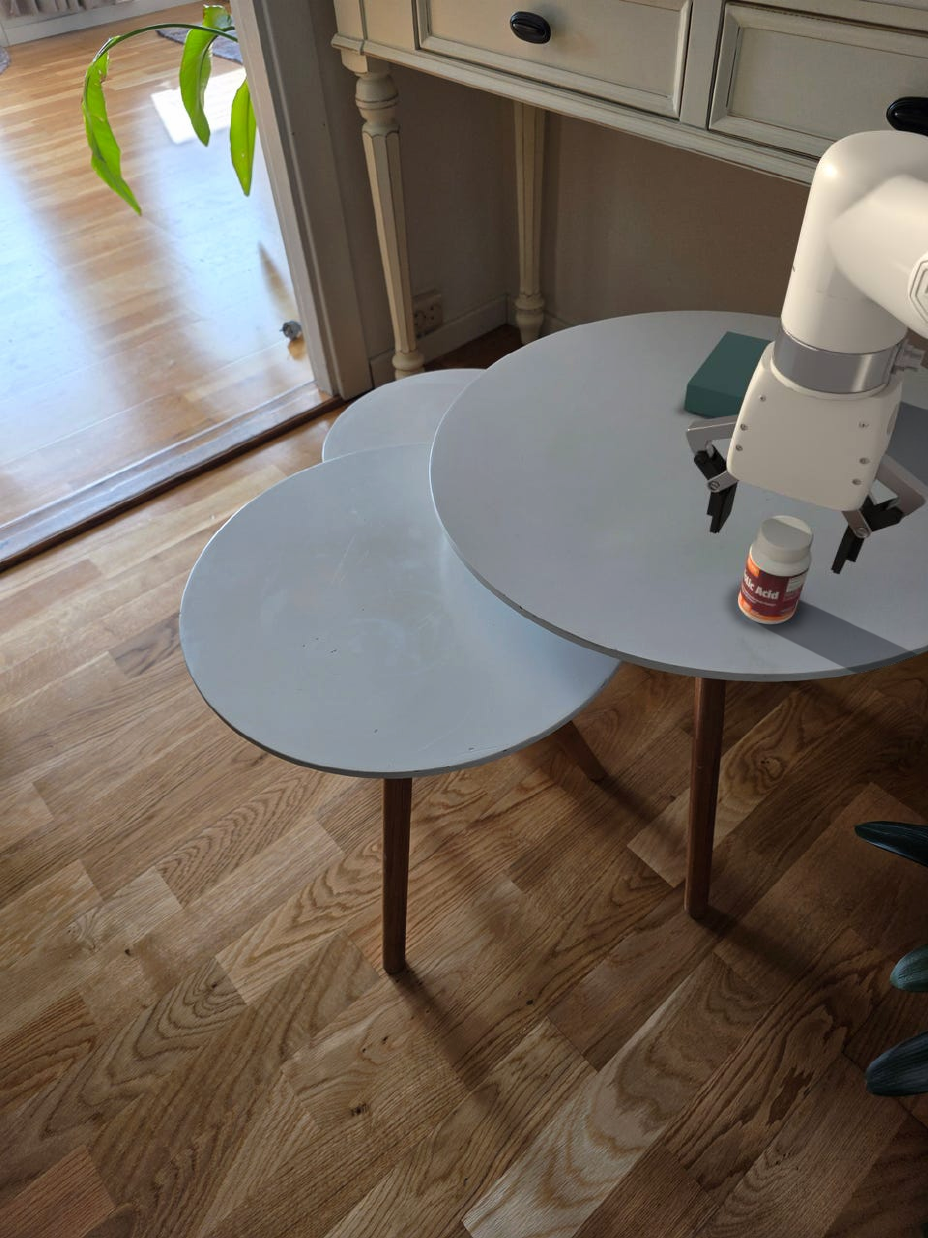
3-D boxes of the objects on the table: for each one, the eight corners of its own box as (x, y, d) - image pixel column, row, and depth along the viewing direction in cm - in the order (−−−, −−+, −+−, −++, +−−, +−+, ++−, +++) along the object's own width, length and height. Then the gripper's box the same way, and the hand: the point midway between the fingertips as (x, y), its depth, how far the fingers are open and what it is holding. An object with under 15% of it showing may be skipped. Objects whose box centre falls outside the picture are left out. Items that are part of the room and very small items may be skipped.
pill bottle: (725, 603, 74) (742, 530, 68) (762, 577, 76) (781, 503, 70) (770, 635, 72) (791, 561, 66) (807, 607, 74) (831, 533, 67)
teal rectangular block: (865, 389, 94) (878, 347, 91) (833, 451, 87) (845, 409, 84) (722, 356, 101) (729, 315, 97) (681, 412, 94) (687, 370, 90)
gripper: (990, 352, 55) (903, 548, 68) (726, 294, 62) (692, 483, 74) (966, 415, 51) (878, 611, 64) (686, 345, 58) (657, 535, 70)
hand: (778, 542), depth 69 cm, fingers open, 9 cm apart
